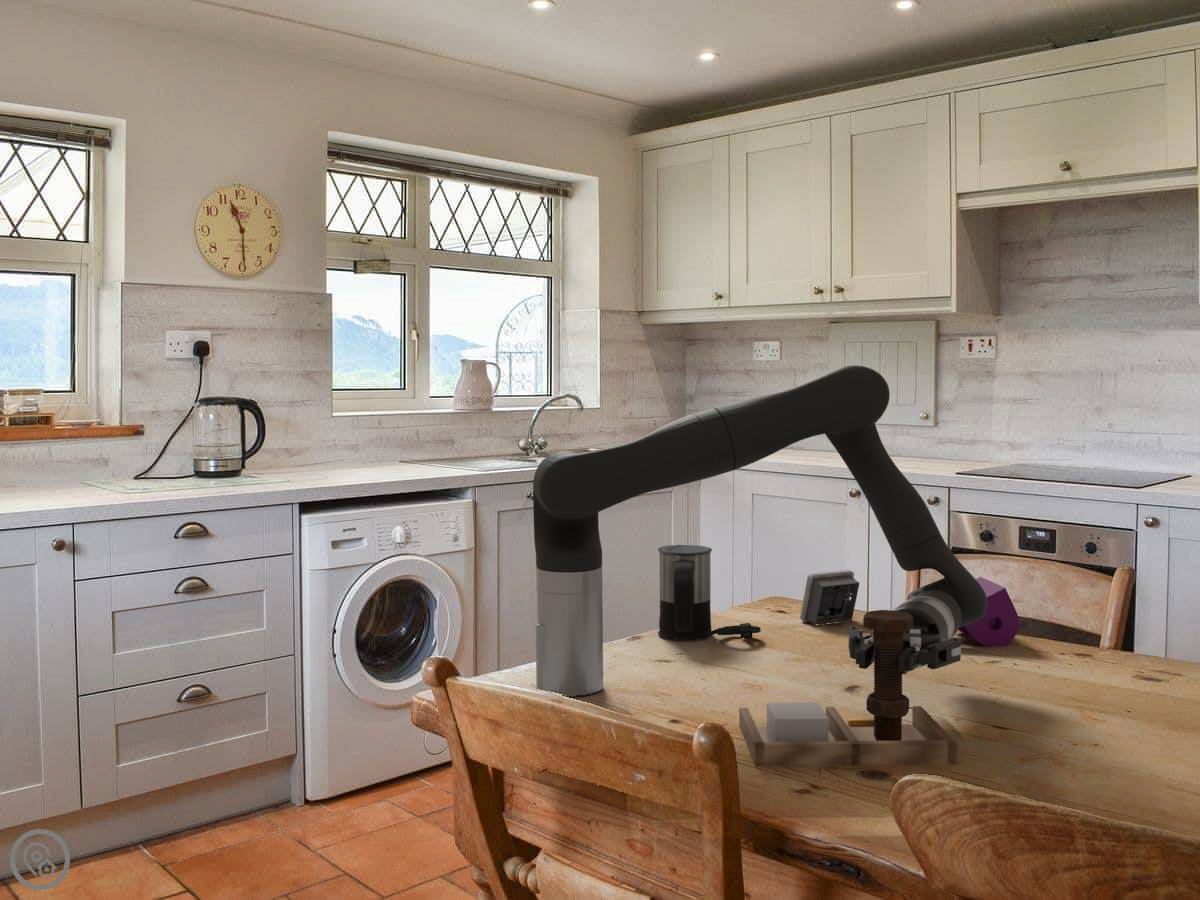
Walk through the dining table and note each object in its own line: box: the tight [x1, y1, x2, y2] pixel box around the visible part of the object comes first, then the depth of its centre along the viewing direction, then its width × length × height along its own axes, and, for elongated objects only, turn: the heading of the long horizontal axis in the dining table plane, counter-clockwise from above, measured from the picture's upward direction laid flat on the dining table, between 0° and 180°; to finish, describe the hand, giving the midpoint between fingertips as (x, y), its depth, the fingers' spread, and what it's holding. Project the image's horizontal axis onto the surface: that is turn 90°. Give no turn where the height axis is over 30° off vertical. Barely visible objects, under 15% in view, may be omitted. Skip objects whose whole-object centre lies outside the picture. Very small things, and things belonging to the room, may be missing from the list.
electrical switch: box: [799, 569, 860, 626], centre depth 187 cm, size 9×5×9 cm, turn 113°
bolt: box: [862, 609, 913, 741], centre depth 123 cm, size 6×5×15 cm
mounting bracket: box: [957, 576, 1020, 648], centre depth 175 cm, size 10×8×18 cm
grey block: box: [766, 701, 829, 742], centre depth 123 cm, size 6×6×4 cm
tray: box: [738, 705, 958, 767], centre depth 123 cm, size 22×14×4 cm, turn 90°
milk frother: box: [657, 544, 762, 642], centre depth 177 cm, size 14×16×15 cm
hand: (882, 662), depth 120 cm, fingers open, 4 cm apart
